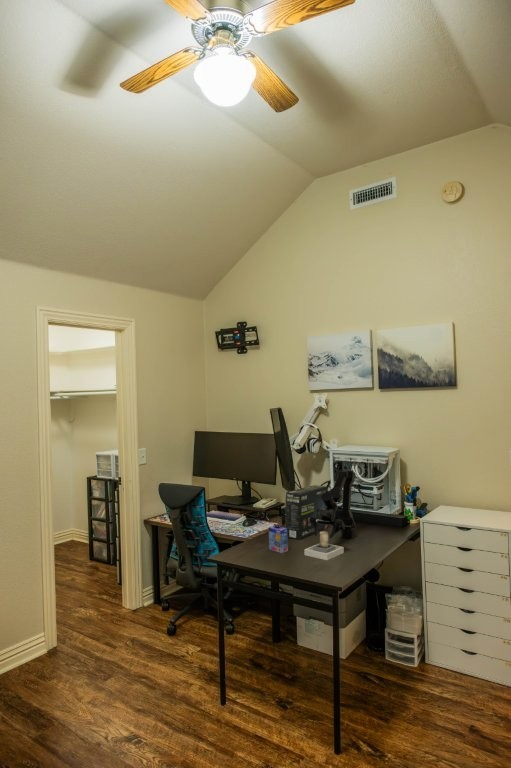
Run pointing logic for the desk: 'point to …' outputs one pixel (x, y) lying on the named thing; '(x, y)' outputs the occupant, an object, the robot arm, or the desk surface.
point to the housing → (324, 551)
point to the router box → (304, 510)
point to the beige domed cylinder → (324, 539)
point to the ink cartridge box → (278, 539)
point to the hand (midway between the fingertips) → (322, 537)
